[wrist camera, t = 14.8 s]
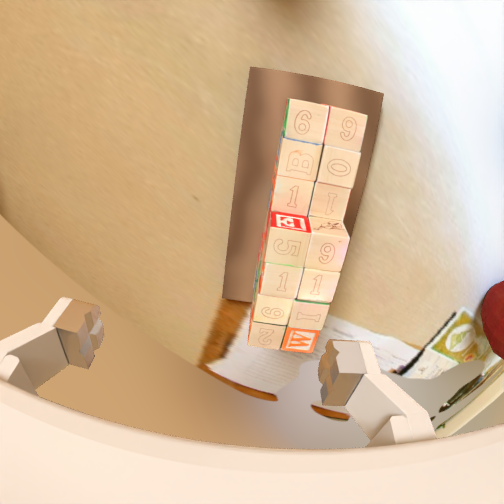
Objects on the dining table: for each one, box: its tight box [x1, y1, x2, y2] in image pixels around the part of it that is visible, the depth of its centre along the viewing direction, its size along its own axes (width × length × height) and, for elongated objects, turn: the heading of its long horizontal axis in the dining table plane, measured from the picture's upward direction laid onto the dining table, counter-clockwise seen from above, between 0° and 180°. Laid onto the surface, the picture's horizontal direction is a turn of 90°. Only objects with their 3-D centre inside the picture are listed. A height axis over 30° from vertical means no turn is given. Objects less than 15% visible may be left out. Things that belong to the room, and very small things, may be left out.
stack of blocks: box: [248, 98, 368, 353], centre depth 29 cm, size 21×6×12 cm, turn 172°
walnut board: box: [222, 67, 384, 303], centre depth 35 cm, size 14×28×2 cm, turn 172°
